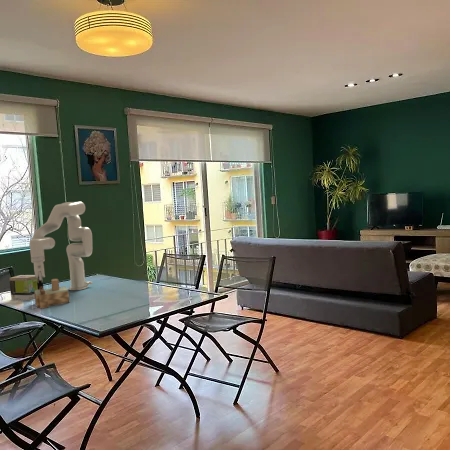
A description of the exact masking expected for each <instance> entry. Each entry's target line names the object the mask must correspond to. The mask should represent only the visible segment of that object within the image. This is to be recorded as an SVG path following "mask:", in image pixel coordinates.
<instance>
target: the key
mask: <svg viewBox="0 0 450 450" xmlns="http://www.w3.org/2000/svg"><path fill="white" fill-rule="evenodd" d="M44 289H45V288H44V285H43V286H41V287H40V288H39V290H40V293H41V294H45V290H44Z"/></svg>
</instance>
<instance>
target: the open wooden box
mask: <svg viewBox="0 0 450 450" xmlns="http://www.w3.org/2000/svg"><path fill="white" fill-rule="evenodd" d="M34 293H35V292H34ZM34 300H35V301H34V302H35V303H34V304H35V306H36V308H40V309H47V308H49V307H50V306H56V305H62V304H69V303H70V295H69V290H68V291H66V292H60V293H53V294H47V293H45V294H39V296H36V294H35V299H34Z"/></svg>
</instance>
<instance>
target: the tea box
mask: <svg viewBox="0 0 450 450" xmlns="http://www.w3.org/2000/svg"><path fill="white" fill-rule="evenodd" d="M8 278H9V279H8V280H9V287H10V288H9V289H10V299H11V301H33V300H35V293H34V292H35V291H36V290H38V288H37V278H36V277H35V274H25V275H24V274H20V275H16V276H13V277H8Z"/></svg>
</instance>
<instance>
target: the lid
mask: <svg viewBox="0 0 450 450" xmlns="http://www.w3.org/2000/svg"><path fill="white" fill-rule="evenodd" d="M50 283H51V288H50V287H49V288H43V289H44V290H45V293H47V294H53V293H60V292H66V291H68V292H69V288H67V287H66V286H60V281H59V279H58V278H52V279H51V280H50ZM35 294H36V296H39V294H41V293H40V290H36V291H35Z"/></svg>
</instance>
